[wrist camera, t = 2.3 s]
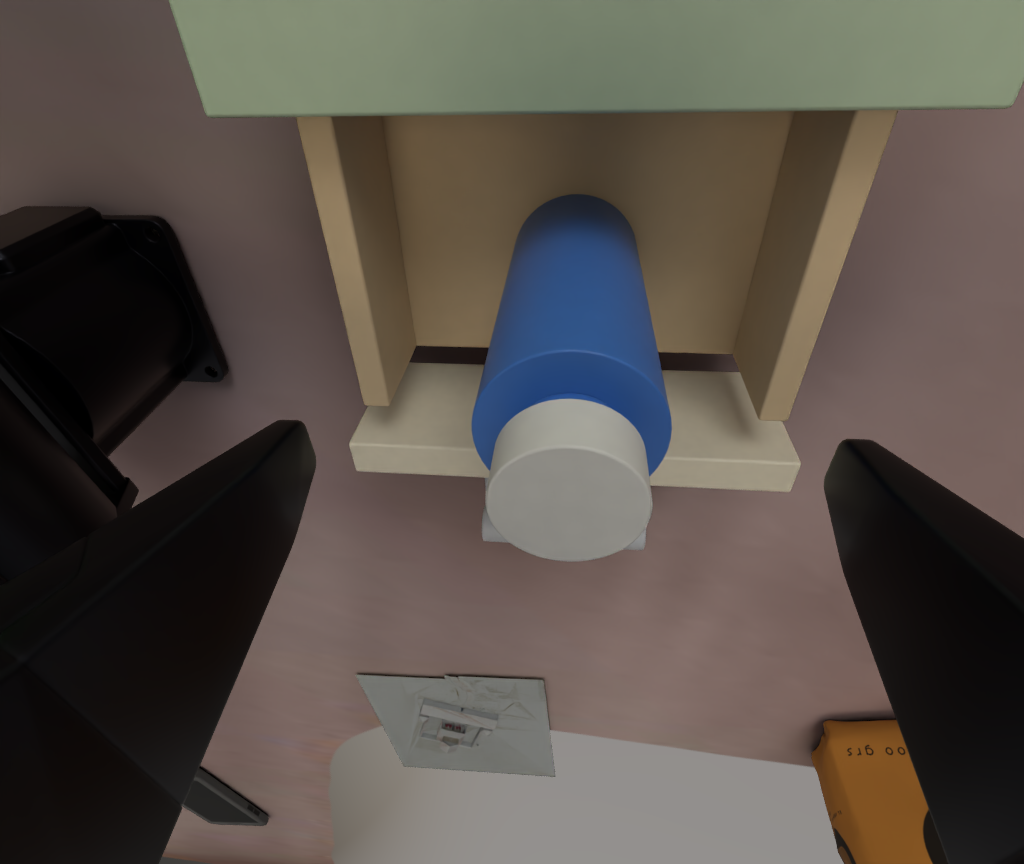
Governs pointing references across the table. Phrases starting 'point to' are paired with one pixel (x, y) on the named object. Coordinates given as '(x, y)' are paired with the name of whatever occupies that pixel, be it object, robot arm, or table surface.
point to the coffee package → (874, 795)
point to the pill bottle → (572, 388)
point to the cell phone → (220, 803)
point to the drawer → (661, 247)
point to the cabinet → (598, 56)
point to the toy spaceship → (465, 722)
